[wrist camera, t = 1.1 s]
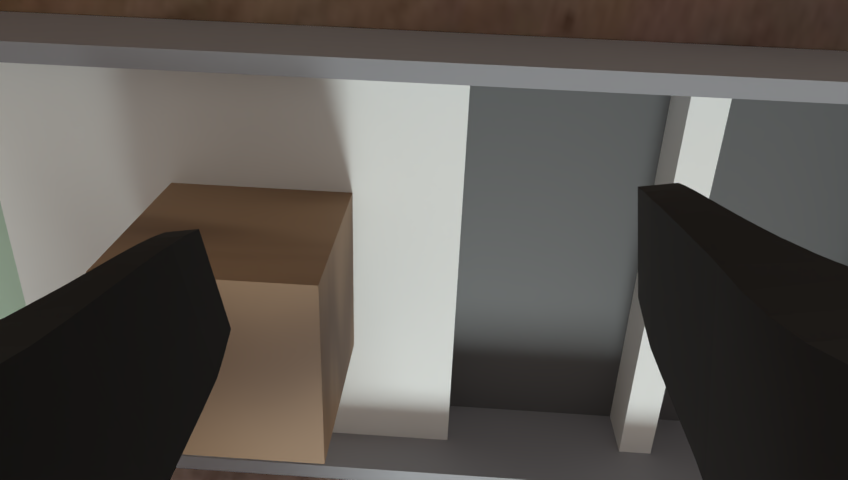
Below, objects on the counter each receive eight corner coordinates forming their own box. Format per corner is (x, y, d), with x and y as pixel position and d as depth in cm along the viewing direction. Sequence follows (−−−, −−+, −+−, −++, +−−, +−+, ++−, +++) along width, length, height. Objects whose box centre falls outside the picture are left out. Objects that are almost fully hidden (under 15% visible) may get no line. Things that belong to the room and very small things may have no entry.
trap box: (825, 435, 25) (876, 515, 22) (-134, 373, 26) (-215, 441, 23) (964, 56, 19) (1060, 92, 16) (-278, -2, 21) (-412, 21, 17)
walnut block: (354, 344, 22) (324, 464, 18) (190, 334, 22) (121, 450, 18) (352, 192, 20) (317, 285, 15) (171, 182, 20) (85, 271, 16)
